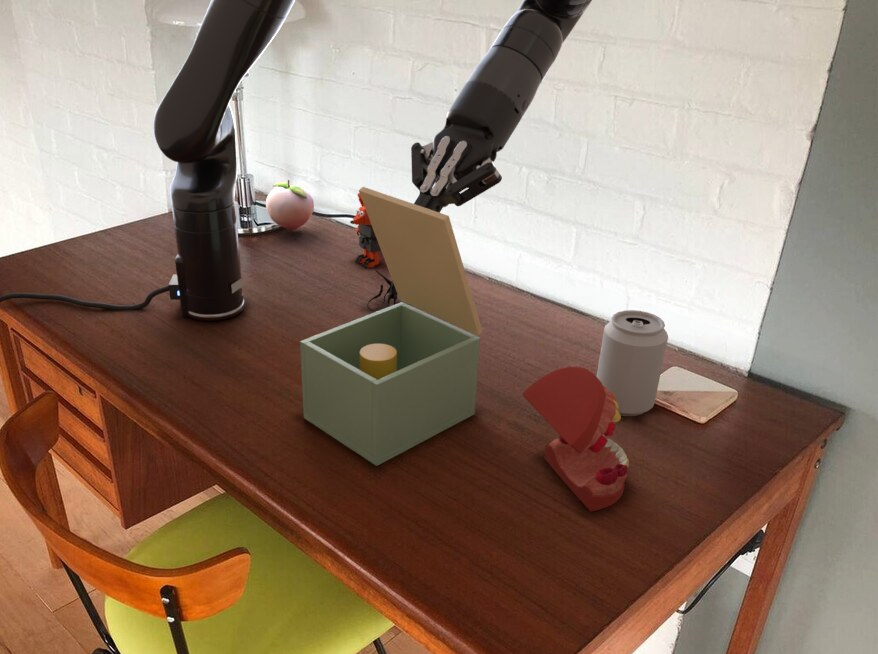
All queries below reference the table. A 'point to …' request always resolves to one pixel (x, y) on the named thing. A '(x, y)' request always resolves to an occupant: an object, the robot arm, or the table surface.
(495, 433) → the table surface
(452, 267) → the lid
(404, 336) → the green open box
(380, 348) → the round shape
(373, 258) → the toy animal
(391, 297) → the creature
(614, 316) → the can
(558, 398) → the anatomical model
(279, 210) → the decorative fruit
